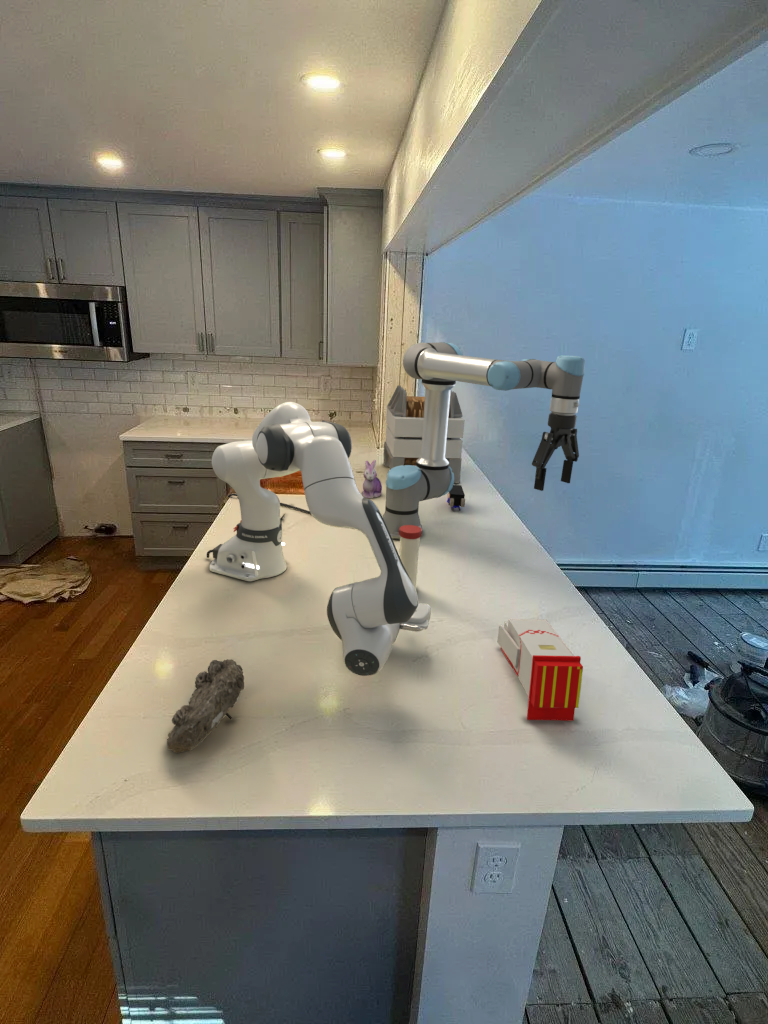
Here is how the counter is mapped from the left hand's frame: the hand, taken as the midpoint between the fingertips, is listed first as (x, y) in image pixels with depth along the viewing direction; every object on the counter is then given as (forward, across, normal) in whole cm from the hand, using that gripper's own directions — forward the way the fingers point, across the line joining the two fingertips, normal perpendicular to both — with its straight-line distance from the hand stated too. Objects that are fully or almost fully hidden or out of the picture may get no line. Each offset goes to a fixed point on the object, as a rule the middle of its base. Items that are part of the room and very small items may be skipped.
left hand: (393, 595), depth 138 cm
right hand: (+45, -37, -19) cm, 61 cm away
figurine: (+100, +31, +8) cm, 105 cm away
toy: (-11, -34, +9) cm, 37 cm away
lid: (+22, 0, -9) cm, 23 cm away
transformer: (+142, +17, +8) cm, 143 cm away
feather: (+64, +55, +8) cm, 85 cm away
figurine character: (+98, -5, +8) cm, 98 cm away
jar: (+22, 0, +9) cm, 23 cm away
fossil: (-41, +26, +9) cm, 50 cm away
